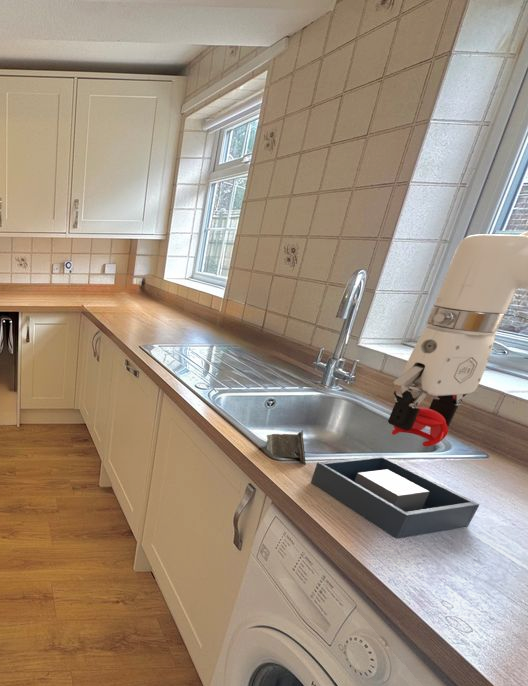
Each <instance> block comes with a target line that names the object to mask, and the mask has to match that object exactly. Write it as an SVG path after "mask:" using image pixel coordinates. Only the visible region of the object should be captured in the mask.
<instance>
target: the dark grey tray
mask: <svg viewBox="0 0 528 686" xmlns="http://www.w3.org/2000/svg"><path fill="white" fill-rule="evenodd" d="M386 469H388V470H390V471H391V472H393V473H395V474H397V475H399V476H401V477H403V478H405V479H407V480H409V481H411V482H413V483H414V484H416V485H418V486H420V487H422V488H424V489H426V490H428V491H430V492H429V494H428V497H427V499H426V501H425V503H424V505H423V507H422V509H421V510H415V511H408V512H405V511H403V510H401V509H399V508H398V507H396V506H394V505H393V504H391V503H389V502H388V501H386V500H384V499H382V498H381V497H379V496H377V495H376V494H374V493H372V492H371V491H369V490H367V489H365V488H364V487H362V486H360V485H359V484H357V483H355V482H354V481H355V478H356V476H357V473H361V472H369V471H377V470H386ZM310 484H312V485H313V486H315V487H316V488H318V489H319V490H321V491H322V492H323V493H325V494H327V495H328V496H330V497H332V498H333V499H335V501H338V502H339V503H341V504H342V505H344V506H345V507H347V508H348V509H349V510H351V511H353V512H355V513H356V514H357V515H359V516H361V517H362V518H364V519H365V520H367V521H368V522H370V523H371V524H373V525H374V526H376V527H377V528H379V529H380V530H381V531H383V532H384V533H386V534H389V536H391V537H392V538H394V539H395V540H397V539H398V540H399V539H404V538H409V537H417V536H422V535H429V534H434V533H439V532H445V531H452V530H457V529H464V528H469V526H470V524H471V521H473V518H474V516H475V514H476V513H477V510H478V508H479V507H480V503H478V502H476V501H474V500H472V499H470V498H468V497H466V496H464V495H462V494H459V493H458V492H455V491H453V490H452V489H450V488H448V487H445V486H444V485H442V484H439V483H438V482H436V481H433V480H432V479H429V478H428V477H426V476H424V475H421V474H420V473H418V472H417V471H414V470H412V469H410V468H407V467H405V466H404V465H401V464H399V463H398V462H396V461H394V460H392V459H390V458H388V457H386V456H383V455H374V456H373V455H372V456H364V457H362V456H361V457H355V458H354V457H353V458H346V459H337V460H336V459H335V460H328V461H319V462H316V465H315V469H314V471H313V475H312V477H311V479H310Z"/></svg>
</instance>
